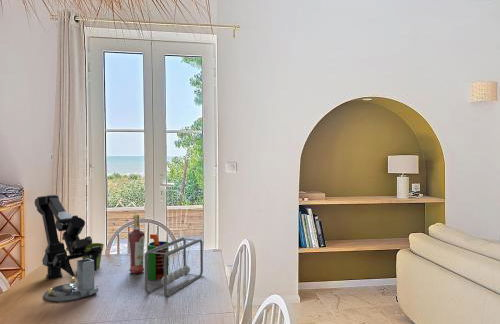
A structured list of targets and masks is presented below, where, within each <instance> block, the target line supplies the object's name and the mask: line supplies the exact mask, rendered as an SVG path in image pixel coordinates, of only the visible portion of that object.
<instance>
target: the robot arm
mask: <svg viewBox="0 0 500 324" xmlns="http://www.w3.org/2000/svg"><path fill="white" fill-rule="evenodd" d="M34 207H36V212H38V213H39V214H40V215H41V216H42V223H43V226H44V231H45V232H44V233H45V236H46V242H47V246H46V248H45V249H44V256H43V258H42V260H41V262H42V265H43V266H44V267H47V268H46V269H47V273H46V280H52V279H59V278H63V272H62V270H63V271H65V272H66V273H67V274H69V276H71V277H75V272H74V270H73V267H72V265H71V262H70V261H71V260H76V259H80V258H82V257H85V256H88V257H89V258H90V259H92V260H94V272H97V269H98V268H97V258H98V257H99V255H100V254H101V252H103V250H102V248H101V247H100V246H96V247H91V249H90V251H87V252H85V251H84V250H86V249H87V248H86V247H87V246H89V244H91V243H93V238H92V237H91V236H90V235H89V236H85V238H81V239H80V234H81V232H82V231H83V229H84V227H85V225H86V221H85V219H83V218H81V217H79V216H78V215H72V214H71V213H68V212H67V211H66V209H65V207H64V206H63V205H62V202H61V201H60V199H59V196H58V194H49V195H41V196H37V197H36V198H35V199H34ZM55 220H56V221H55ZM58 232H63V233H62V238H61V240H63V241H64V242H61V241H60V240H59V236H58ZM64 243H65V244H64ZM65 246H66V248H65ZM68 254H69V255H68ZM101 255H102V254H101Z"/></svg>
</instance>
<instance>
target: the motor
mask: <svg viewBox="0 0 500 324" xmlns="http://www.w3.org/2000/svg"><path fill="white" fill-rule="evenodd" d="M149 239H151V240H153V241H151V242H148V243H147V251H149V250H152V249H154V248H157V247H159V246H162V245H164V244H167V243H170V242H169V241H167V240H159V236H158V234H157V233H150V235H149ZM169 249H170V246H169V247H166V248H164V249H161V250H159V251H156V253H166V250H168V251H170V250H169ZM168 251H167V252H168ZM156 253H149V254H148V257H147V262H148V280H150V281H154V282H155V281H156V280H160V281H161V279H162V278H163V277H164V269H163V266H164V256H165V255H164V254H162V257H161V254H156ZM166 254H167V253H166ZM162 260H163V263H162ZM168 261H169V257H168V258H167V268H168V270H167V275H168V274H169V264H168Z"/></svg>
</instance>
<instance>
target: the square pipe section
mask: <svg viewBox="0 0 500 324" xmlns="http://www.w3.org/2000/svg"><path fill="white" fill-rule="evenodd" d="M76 271H77V272H76V274H77V275H76V276H77V279H76V280H77V281H76V283H77V288H74V295H75V296H76V295H79V296H81V297H82V296H85V295H89V296H92V295H94V294H95V293H98V292H99V287H98V285H97V284H95V271H94V260H92V259H89V258H87V259H78V260H76Z"/></svg>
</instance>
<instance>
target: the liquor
mask: <svg viewBox="0 0 500 324" xmlns="http://www.w3.org/2000/svg"><path fill="white" fill-rule="evenodd" d="M128 246H129V247H128V248H129V263H130V269H129V272H130V274H134V275H140V274H142V273H143V272H144V271H145V267H144V257H145V253H144V251H145V233H144V232H143V231H142V230H140V214H138V213H137V214H133V229H132V231H130V232H129V233H128Z"/></svg>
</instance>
